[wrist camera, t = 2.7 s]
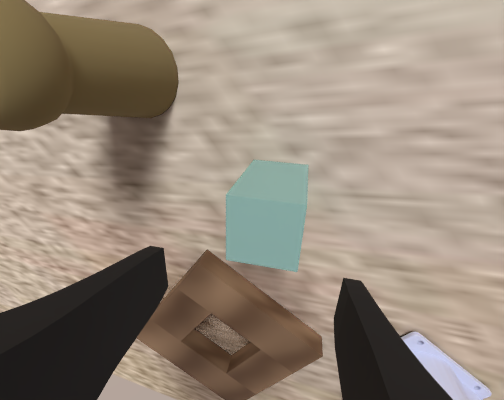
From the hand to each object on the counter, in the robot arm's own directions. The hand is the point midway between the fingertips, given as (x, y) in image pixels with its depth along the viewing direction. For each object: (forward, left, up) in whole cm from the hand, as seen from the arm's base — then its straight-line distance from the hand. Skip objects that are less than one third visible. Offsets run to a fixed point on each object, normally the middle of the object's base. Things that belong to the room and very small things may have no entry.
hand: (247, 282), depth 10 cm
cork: (+13, 0, -11) cm, 17 cm away
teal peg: (0, 0, -10) cm, 11 cm away
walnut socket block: (-6, +16, -10) cm, 20 cm away
